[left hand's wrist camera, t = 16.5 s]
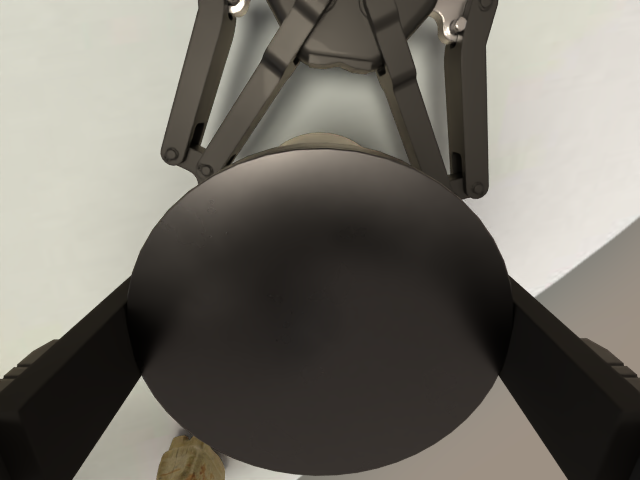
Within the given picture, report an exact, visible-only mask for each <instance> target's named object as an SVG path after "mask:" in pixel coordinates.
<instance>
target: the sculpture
mask: <svg viewBox="0 0 640 480" xmlns="http://www.w3.org/2000/svg"><path fill="white" fill-rule="evenodd" d="M224 479H225V469H224V466H223V463H222V461H221V459H220V458H219V456H218V455H217V454H216V453H215V452H214V451H213V450H212V449H211V447H210V446H208V445H207V444H205V443H204V442H202V441H200V440H199V439H197V438H196V437H195V436H193V437H192V438H191V439H190V440H189V438H188V436H185V435H183V436H178V437H175V438H174V439H173V440H172V443H171V446H170V449H169V451H167V452H165V453H164V454H163V456H162V459H161V462H160V464H159V468H158V473H157V478H156V480H224Z"/></svg>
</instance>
